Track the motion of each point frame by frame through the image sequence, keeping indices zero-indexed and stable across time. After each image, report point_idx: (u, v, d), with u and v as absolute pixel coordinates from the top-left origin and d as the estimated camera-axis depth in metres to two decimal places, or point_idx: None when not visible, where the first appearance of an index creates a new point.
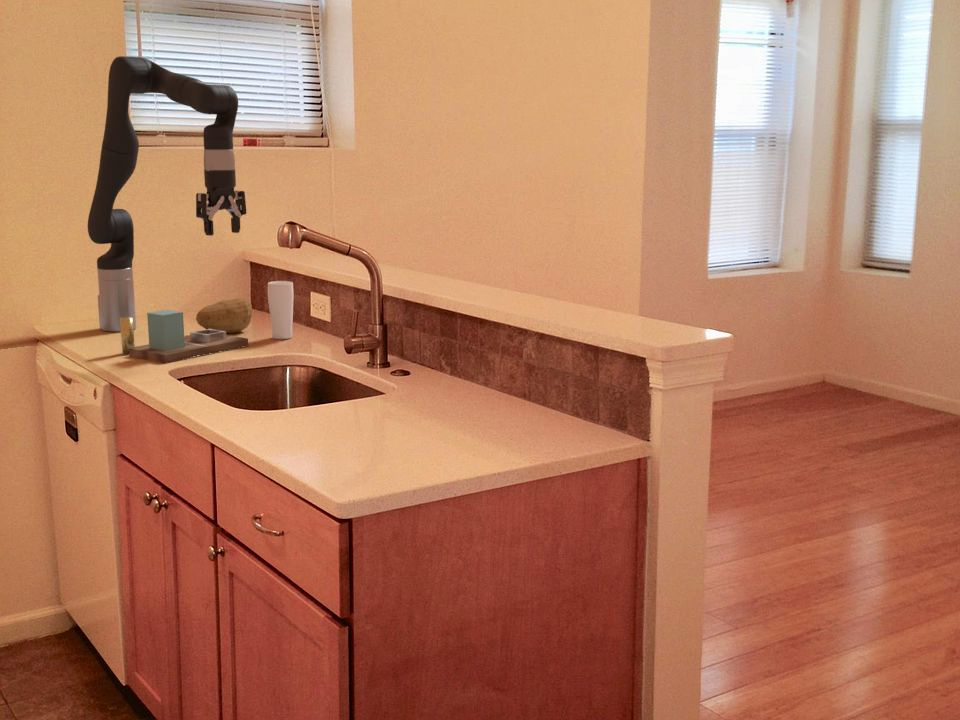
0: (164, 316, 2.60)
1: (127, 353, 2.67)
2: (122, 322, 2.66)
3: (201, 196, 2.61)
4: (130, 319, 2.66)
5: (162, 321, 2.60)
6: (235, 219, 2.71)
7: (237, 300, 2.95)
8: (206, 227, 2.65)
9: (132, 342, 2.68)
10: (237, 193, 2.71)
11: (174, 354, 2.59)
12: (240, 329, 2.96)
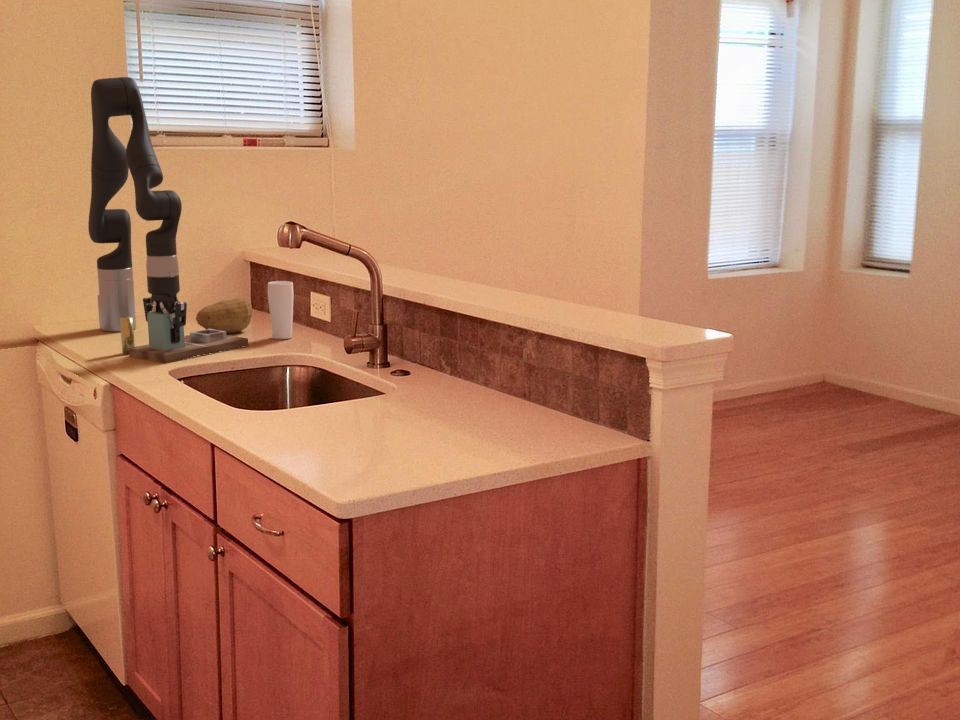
0: (164, 316, 2.60)
1: (127, 353, 2.67)
2: (122, 322, 2.66)
3: (185, 305, 2.60)
4: (130, 319, 2.66)
5: (162, 321, 2.60)
6: None
7: (237, 300, 2.95)
8: (178, 335, 2.63)
9: (132, 342, 2.68)
10: None
11: (174, 354, 2.59)
12: (240, 329, 2.96)
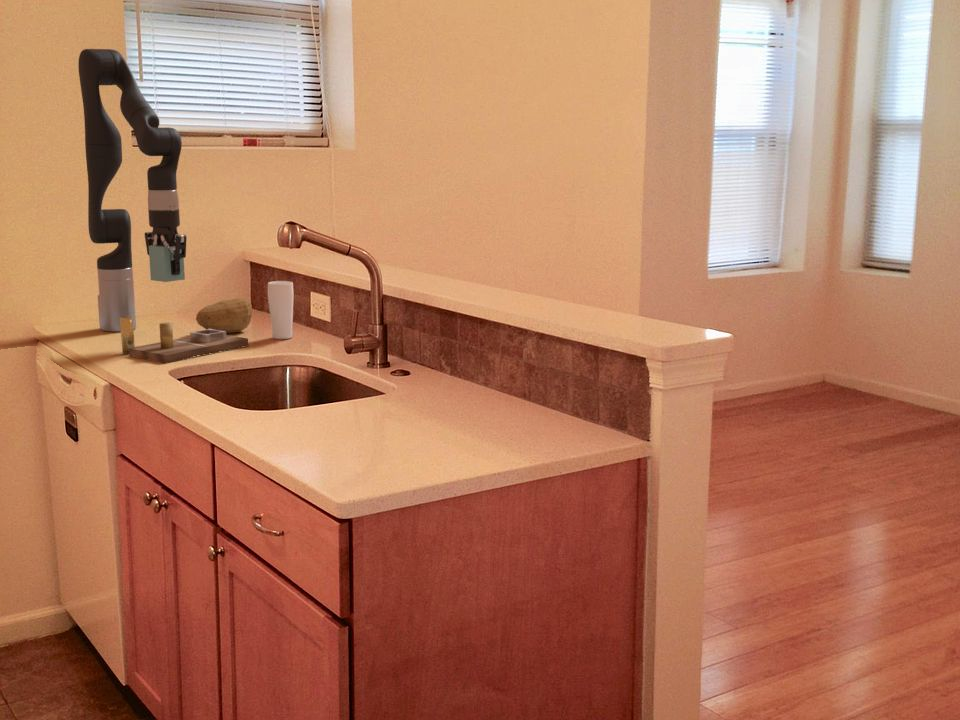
0: (165, 248, 2.71)
1: (127, 353, 2.67)
2: (122, 322, 2.66)
3: (185, 238, 2.71)
4: (130, 319, 2.66)
5: (163, 253, 2.72)
6: None
7: (237, 300, 2.95)
8: (178, 267, 2.74)
9: (132, 342, 2.68)
10: None
11: (174, 354, 2.59)
12: (240, 329, 2.96)
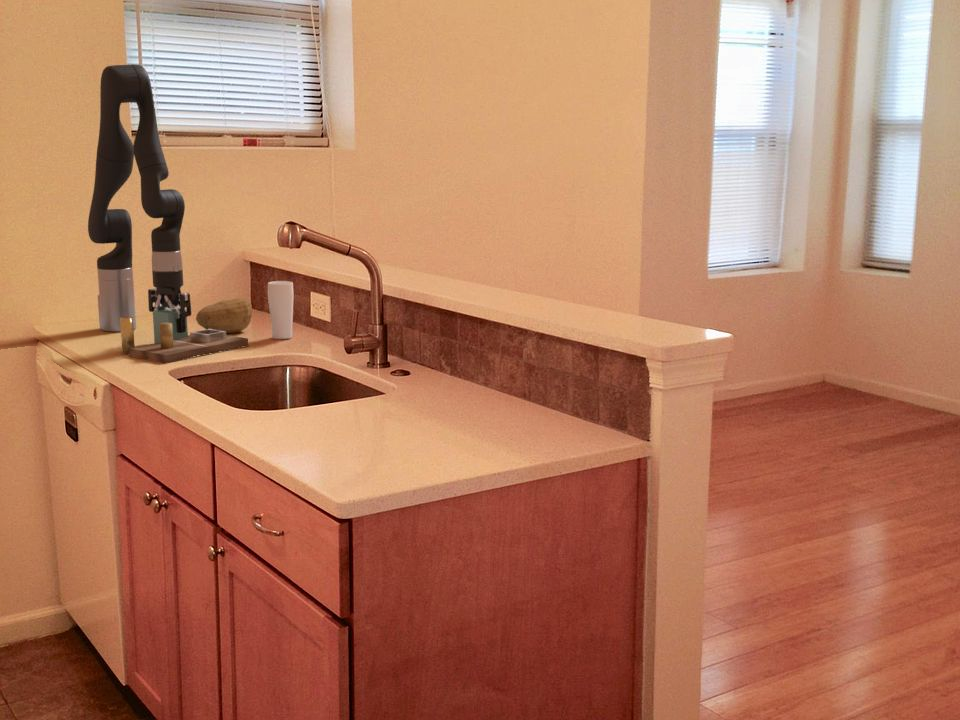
0: (169, 314, 2.75)
1: (127, 353, 2.67)
2: (122, 322, 2.66)
3: (188, 295, 2.74)
4: (130, 319, 2.66)
5: (167, 319, 2.75)
6: None
7: (237, 300, 2.95)
8: (184, 325, 2.77)
9: (132, 342, 2.68)
10: None
11: (174, 354, 2.59)
12: (240, 329, 2.96)
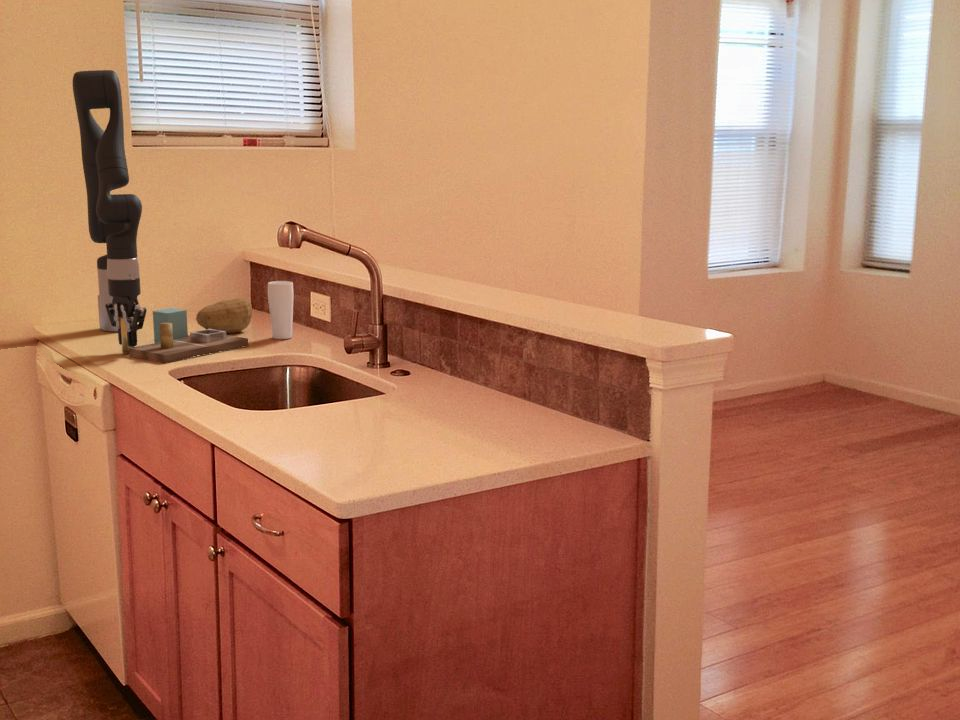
0: (169, 314, 2.75)
1: (127, 353, 2.67)
2: (122, 322, 2.66)
3: (144, 311, 2.63)
4: None
5: (167, 319, 2.75)
6: None
7: (237, 300, 2.95)
8: (135, 338, 2.67)
9: None
10: None
11: (174, 354, 2.59)
12: (240, 329, 2.96)
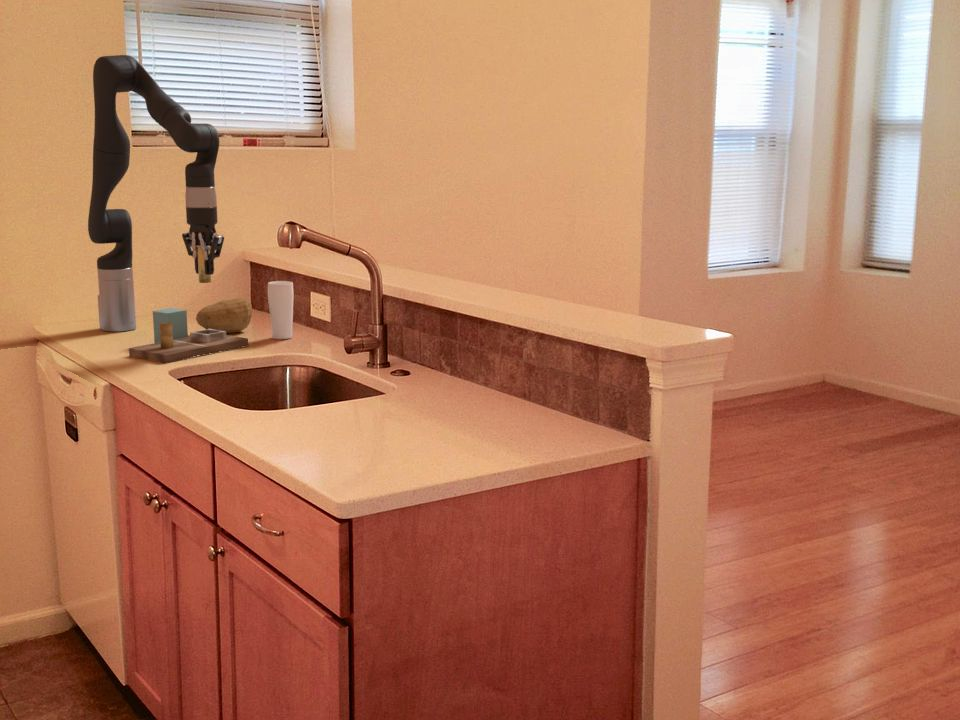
0: (169, 314, 2.75)
1: (204, 281, 2.71)
2: (199, 250, 2.70)
3: (222, 239, 2.68)
4: None
5: (167, 319, 2.75)
6: None
7: (237, 300, 2.95)
8: (212, 266, 2.71)
9: None
10: None
11: (174, 354, 2.59)
12: (240, 329, 2.96)
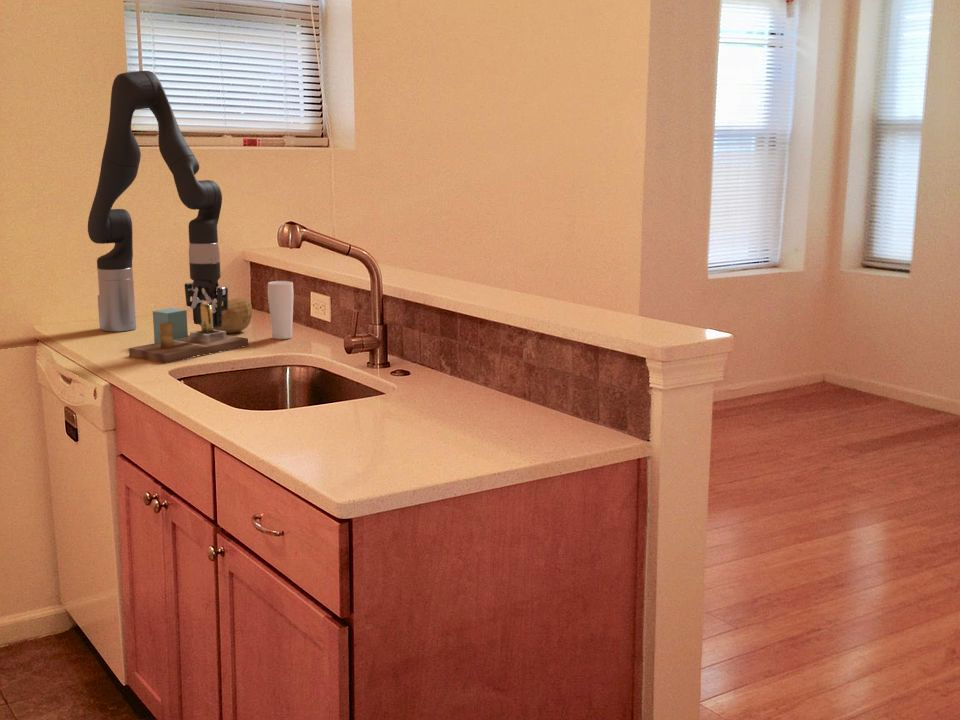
0: (169, 314, 2.75)
1: None
2: (203, 309, 2.73)
3: (226, 290, 2.70)
4: (210, 306, 2.74)
5: (167, 319, 2.75)
6: None
7: (237, 300, 2.95)
8: (220, 319, 2.72)
9: (211, 328, 2.75)
10: None
11: (174, 354, 2.59)
12: (240, 329, 2.96)
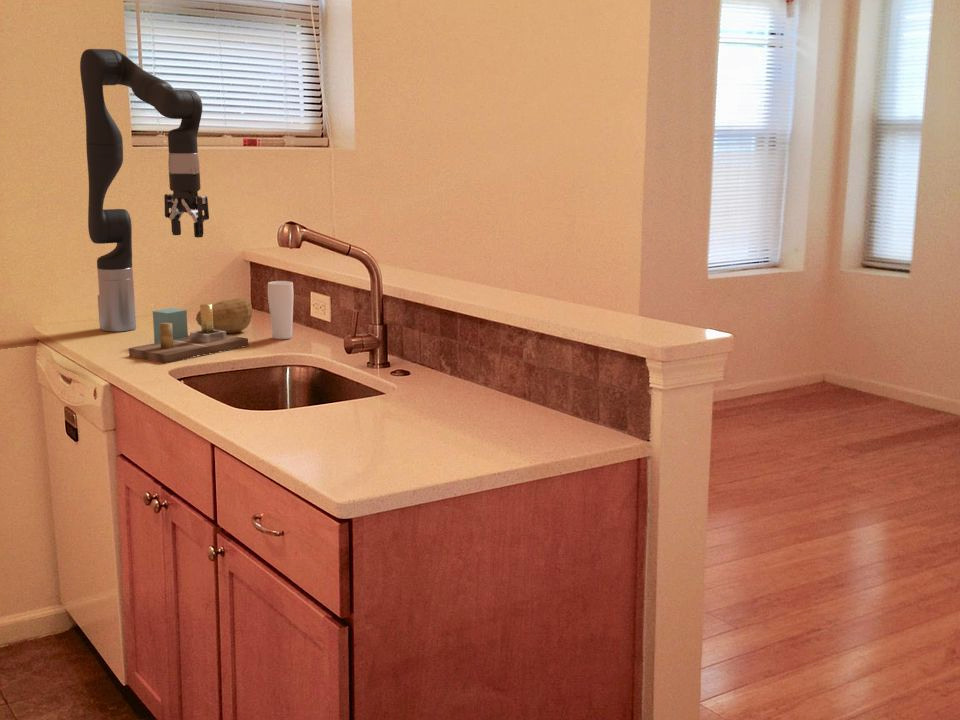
0: (169, 314, 2.75)
1: None
2: (203, 308, 2.73)
3: (206, 198, 2.69)
4: (210, 306, 2.74)
5: (167, 319, 2.75)
6: (178, 221, 2.76)
7: (237, 300, 2.95)
8: (201, 229, 2.71)
9: (212, 328, 2.75)
10: None
11: (174, 354, 2.59)
12: (240, 329, 2.96)
